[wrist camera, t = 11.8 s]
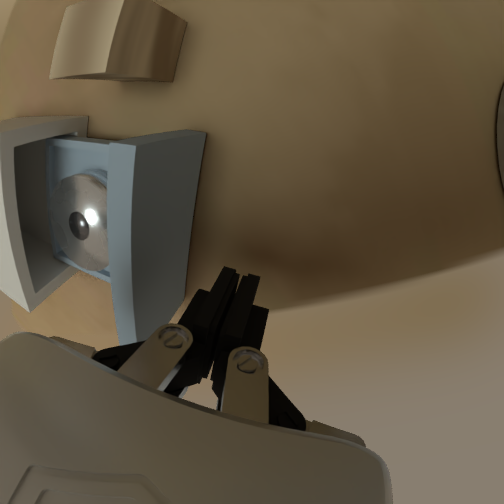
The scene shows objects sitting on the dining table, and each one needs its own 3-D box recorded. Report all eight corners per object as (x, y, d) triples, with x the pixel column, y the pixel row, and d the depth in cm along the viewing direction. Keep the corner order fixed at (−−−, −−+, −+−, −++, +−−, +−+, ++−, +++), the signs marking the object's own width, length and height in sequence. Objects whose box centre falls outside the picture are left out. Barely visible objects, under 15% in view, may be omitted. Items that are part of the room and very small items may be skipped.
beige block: (187, 22, 11) (128, -12, 6) (172, 82, 13) (105, 72, 8) (132, 26, 12) (66, 6, 6) (119, 81, 14) (49, 79, 8)
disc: (68, 163, 15) (46, 171, 13) (138, 175, 14) (115, 184, 12) (73, 243, 17) (54, 256, 16) (136, 267, 17) (118, 284, 15)
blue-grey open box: (206, 132, 14) (136, 145, 8) (184, 299, 20) (139, 366, 14) (69, 118, 15) (-5, 134, 9) (72, 255, 20) (20, 297, 15)
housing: (88, 116, 15) (0, 132, 8) (89, 262, 21) (30, 312, 14) (16, 117, 16) (-47, 135, 9) (22, 231, 22) (-29, 264, 15)
